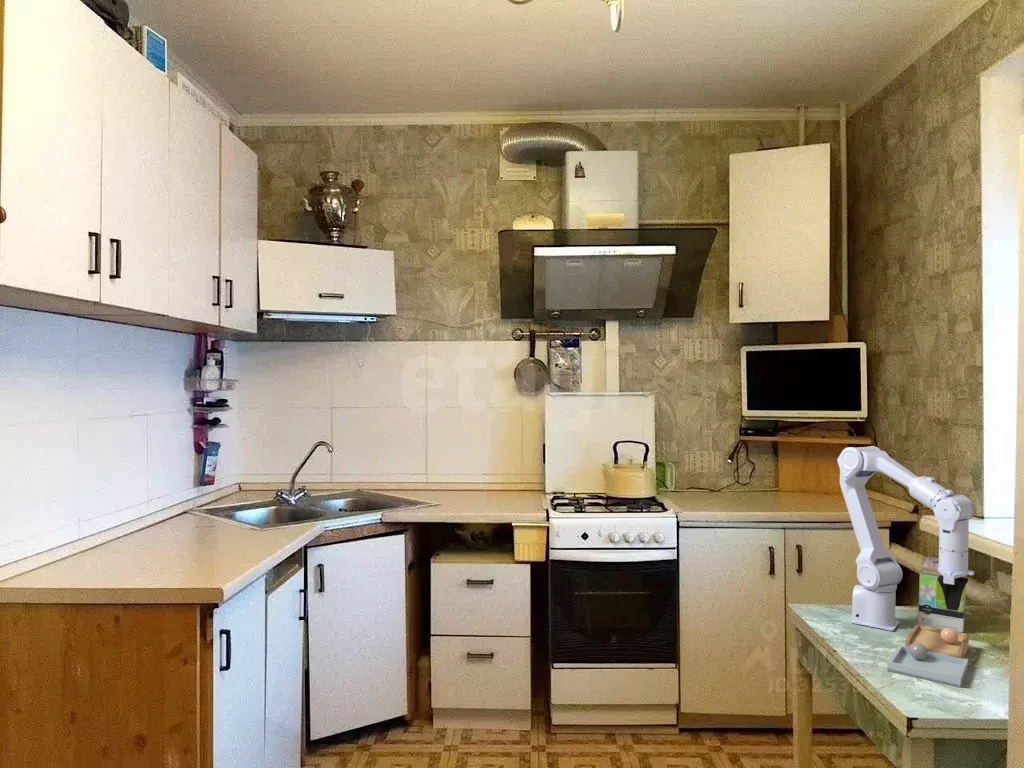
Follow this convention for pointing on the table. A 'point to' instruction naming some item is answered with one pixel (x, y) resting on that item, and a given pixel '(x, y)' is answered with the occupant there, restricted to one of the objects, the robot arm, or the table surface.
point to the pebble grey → (918, 651)
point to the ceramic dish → (929, 666)
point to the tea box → (937, 600)
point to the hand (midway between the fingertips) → (952, 609)
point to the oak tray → (938, 641)
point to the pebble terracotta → (949, 635)
